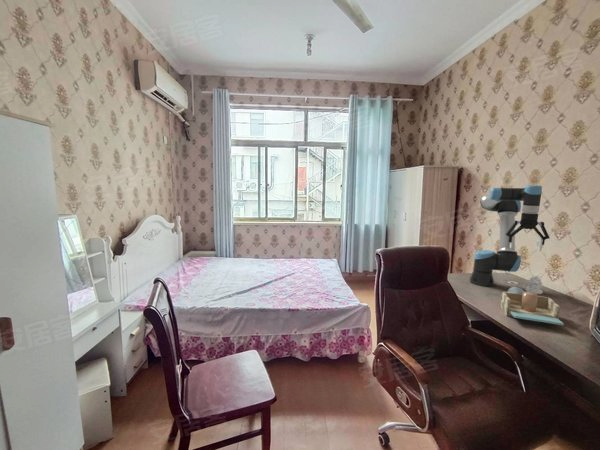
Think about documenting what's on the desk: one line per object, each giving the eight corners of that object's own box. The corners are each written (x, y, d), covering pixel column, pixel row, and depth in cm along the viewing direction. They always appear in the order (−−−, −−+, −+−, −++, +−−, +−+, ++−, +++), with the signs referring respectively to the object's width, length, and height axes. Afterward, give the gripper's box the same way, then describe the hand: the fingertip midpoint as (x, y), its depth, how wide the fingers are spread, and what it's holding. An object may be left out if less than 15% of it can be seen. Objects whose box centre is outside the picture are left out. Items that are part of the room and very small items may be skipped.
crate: (500, 306, 171) (502, 291, 170) (547, 312, 163) (549, 297, 161) (506, 316, 158) (508, 300, 157) (557, 324, 150) (560, 307, 149)
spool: (530, 302, 168) (522, 285, 172) (511, 306, 173) (503, 289, 176) (529, 300, 179) (521, 284, 183) (511, 304, 184) (503, 288, 187)
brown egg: (522, 310, 158) (524, 294, 157) (519, 306, 164) (521, 290, 162) (537, 313, 155) (539, 296, 154) (533, 308, 161) (535, 292, 160)
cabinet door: (509, 310, 157) (514, 315, 149) (556, 317, 150) (564, 323, 142) (509, 312, 157) (514, 317, 149) (556, 319, 150) (563, 325, 142)
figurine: (522, 287, 203) (524, 272, 201) (539, 289, 199) (541, 274, 198) (527, 293, 192) (529, 277, 190) (545, 295, 188) (547, 279, 187)
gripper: (505, 212, 169) (501, 248, 172) (560, 214, 159) (554, 252, 163) (502, 210, 176) (498, 245, 179) (554, 213, 166) (549, 249, 170)
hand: (525, 249), depth 171 cm, fingers open, 13 cm apart
